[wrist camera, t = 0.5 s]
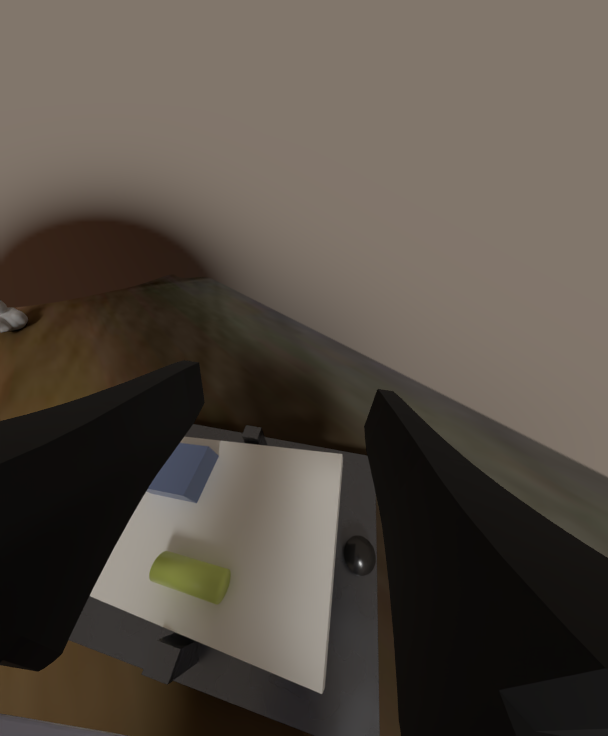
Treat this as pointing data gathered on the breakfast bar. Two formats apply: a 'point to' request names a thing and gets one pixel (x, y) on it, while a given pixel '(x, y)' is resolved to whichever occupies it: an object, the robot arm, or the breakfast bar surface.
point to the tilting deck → (236, 553)
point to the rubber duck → (11, 318)
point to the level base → (250, 683)
